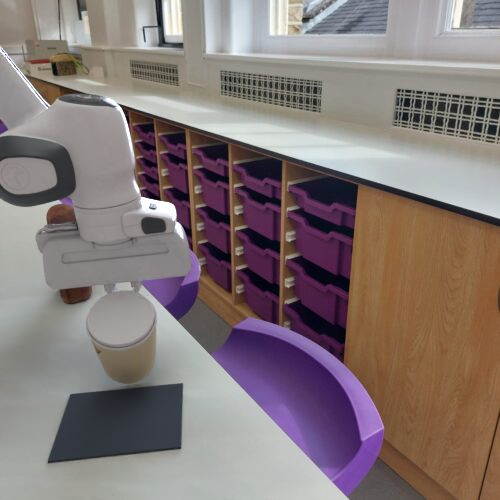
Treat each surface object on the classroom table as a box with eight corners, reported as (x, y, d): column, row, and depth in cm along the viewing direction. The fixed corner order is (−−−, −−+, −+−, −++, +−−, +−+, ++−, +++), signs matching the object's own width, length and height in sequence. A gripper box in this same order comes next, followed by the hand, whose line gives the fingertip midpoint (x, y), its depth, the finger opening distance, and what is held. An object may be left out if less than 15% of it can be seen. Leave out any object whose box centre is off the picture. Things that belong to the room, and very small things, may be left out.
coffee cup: (106, 332, 77) (94, 285, 68) (165, 337, 77) (161, 291, 68) (91, 387, 71) (75, 343, 62) (155, 392, 71) (149, 349, 62)
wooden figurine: (57, 282, 102) (38, 200, 94) (88, 275, 104) (73, 194, 97) (62, 308, 92) (42, 219, 85) (97, 299, 94) (80, 212, 87)
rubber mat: (47, 463, 59) (47, 461, 59) (70, 395, 70) (70, 393, 70) (181, 448, 60) (180, 446, 60) (182, 384, 71) (182, 382, 71)
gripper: (25, 234, 62) (50, 325, 68) (185, 219, 64) (196, 309, 70) (38, 217, 68) (60, 303, 74) (185, 203, 70) (195, 288, 75)
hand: (127, 305), depth 72 cm, fingers closed, pressing on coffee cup
